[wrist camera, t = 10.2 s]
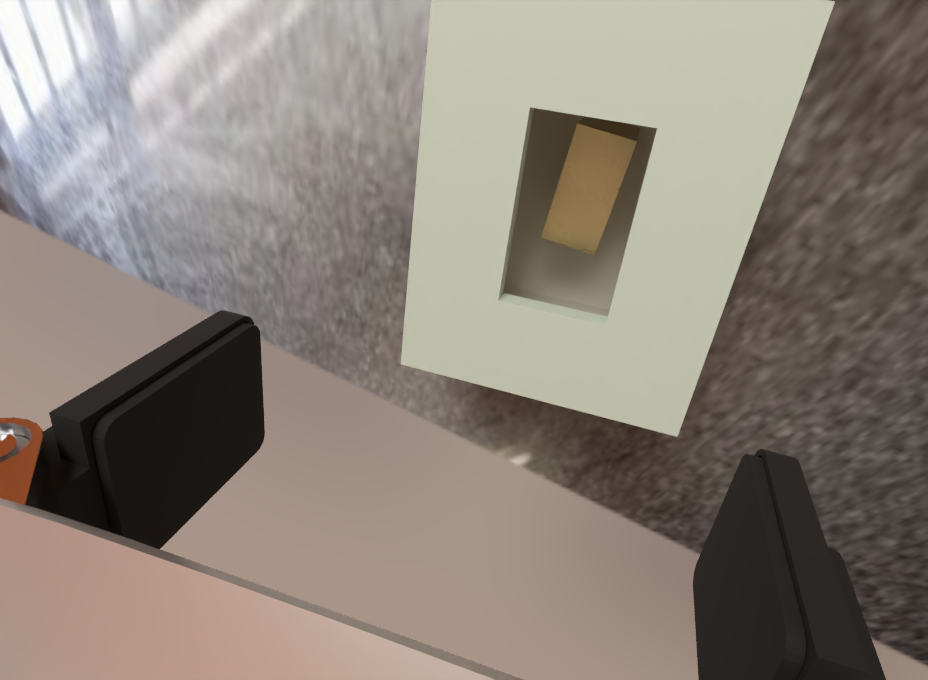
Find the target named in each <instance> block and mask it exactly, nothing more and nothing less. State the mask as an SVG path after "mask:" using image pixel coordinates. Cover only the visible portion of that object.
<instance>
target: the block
mask: <svg viewBox="0 0 928 680" xmlns="http://www.w3.org/2000/svg"><path fill="white" fill-rule="evenodd" d="M639 131H640V128H639V127H636V126H632V125H629V124H625V123H622V122H616V121H610V120H604V119H598V118H592V117H586V116H585V117H584V118H582V119H581V120H580V121H579V122H578V123H577V126H576V129H575V132H574V135H573V138H572V141H571V145H570V148H569V151H568V154H567V157H566V160H565V163H564V166H563V170H562V173H561V176H560V179H559V182H558V185H557V188H556V191H555V195H554V198H553V201H552V204H551V207H550V210H549V213H548V216H547V220H546V223H545V226H544V229H543V232H542V235H541V238H544V239H547V240H550V241H553V242H556V243H559V244H562V245H565V246H568V247H571V248H574V249H577V250H580V251H583V252H586V253H589V254H592V255H595V253H596V250H597V248H598V245H599V242H600V239H601V237H602V234H603V231H604V229H605V226H606V223H607V221H608V218H609V215H610V213H611V210H612V207H613V205H614V202H615V199H616V197H617V194H618V191H619V189H620V186H621V183H622V181H623V178H624V175H625V173H626V170H627V167H628V165H629V162H630V159H631V157H632V154H633V151H634V148H635V146H636V143H637V140H638V136H639Z"/></svg>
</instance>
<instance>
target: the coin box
mask: <svg viewBox="0 0 928 680" xmlns="http://www.w3.org/2000/svg"><path fill="white" fill-rule="evenodd" d="M834 3H835V1H827V0H431V10H430V22H429V34H428V46H427V58H426V70H425V82H424V94H423V106H422V118H421V130H420V141H419V153H418V165H417V177H416V189H415V201H414V213H413V225H412V237H411V249H410V261H409V272H408V284H407V296H406V308H405V320H404V332H403V344H402V356H401V364H402V365H406V366H409V367H413V368H417V369H421V370H425V371H428V372H432V373H436V374H440V375H444V376H448V377H451V378H455V379H459V380H463V381H467V382H470V383H474V384H478V385H482V386H486V387H489V388H493V389H497V390H501V391H505V392H508V393H512V394H516V395H520V396H524V397H528V398H531V399H535V400H539V401H543V402H547V403H550V404H554V405H558V406H562V407H566V408H569V409H573V410H577V411H581V412H585V413H588V414H592V415H596V416H600V417H604V418H607V419H611V420H615V421H619V422H623V423H627V424H630V425H634V426H638V427H642V428H646V429H649V430H653V431H657V432H661V433H665V434H668V435H672V436H676V437H677V436H678V434H679V431H680V428H681V425H682V423H683V420H684V417H685V414H686V412H687V409H688V406H689V403H690V401H691V398H692V395H693V392H694V389H695V387H696V384H697V381H698V378H699V376H700V373H701V370H702V367H703V365H704V362H705V359H706V356H707V354H708V351H709V348H710V345H711V343H712V340H713V337H714V334H715V331H716V329H717V326H718V323H719V320H720V318H721V315H722V312H723V309H724V307H725V304H726V301H727V298H728V296H729V293H730V290H731V287H732V285H733V282H734V279H735V276H736V273H737V271H738V268H739V265H740V262H741V260H742V257H743V254H744V251H745V249H746V246H747V243H748V240H749V238H750V235H751V232H752V229H753V227H754V224H755V221H756V218H757V216H758V213H759V210H760V207H761V204H762V202H763V199H764V196H765V193H766V191H767V188H768V185H769V182H770V180H771V177H772V174H773V171H774V169H775V166H776V163H777V160H778V158H779V155H780V152H781V149H782V146H783V144H784V141H785V138H786V135H787V133H788V130H789V127H790V124H791V122H792V119H793V116H794V113H795V111H796V108H797V105H798V102H799V100H800V97H801V94H802V91H803V88H804V86H805V83H806V80H807V77H808V75H809V72H810V69H811V66H812V64H813V61H814V58H815V55H816V53H817V50H818V47H819V44H820V42H821V39H822V36H823V33H824V31H825V28H826V25H827V22H828V19H829V17H830V14H831V11H832V8H833V6H834ZM585 116H586V117H592V118H598V119H604V120H610V121H616V122H622V123H625V124H629V125H632V126H636V127H639V128H640V131H639V136H638V140H637V143H636V146H635V148H634V151H633V154H632V157H631V159H630V162H629V165H628V167H627V170H626V173H625V175H624V178H623V181H622V183H621V186H620V189H619V191H618V194H617V197H616V199H615V202H614V205H613V207H612V210H611V213H610V215H609V218H608V221H607V223H606V226H605V229H604V231H603V234H602V237H601V239H600V242H599V245H598V248H597V250H596V253H595V255H592V254H589V253H586V252H583V251H580V250H577V249H574V248H571V247H568V246H565V245H562V244H559V243H556V242H553V241H550V240H547V239H544V238H541V235H542V232H543V229H544V226H545V223H546V220H547V216H548V213H549V210H550V207H551V204H552V201H553V198H554V195H555V191H556V188H557V185H558V182H559V179H560V176H561V173H562V170H563V166H564V163H565V160H566V157H567V154H568V151H569V148H570V145H571V141H572V138H573V135H574V132H575V129H576V126H577V123H578V122H579V121H580V120H581V119H582V118H584V117H585Z"/></svg>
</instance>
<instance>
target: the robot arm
mask: <svg viewBox="0 0 928 680" xmlns="http://www.w3.org/2000/svg"><path fill="white" fill-rule="evenodd" d="M49 414H50V418H51V422H52V427H50V428H49V429H47V430H46V431H44V432H43V431H42V429H41V428H40V427H39V425H38V424H37V423H34V422H32V421H30V420H27V419H21V418H14V417H13V418H0V680H523V679H520V678H517V677H515V676H512V675H509V674H506V673H504V672H501V671H498V670H495V669H492V668H490V667H487V666H484V665H482V664H479V663H476V662H473V661H471V660H468V659H465V658H462V657H460V656H456V655H454V654H451V653H449V652H446V651H443V650H440V649H437V648H434V647H432V646H429V645H427V644H424V643H421V642H418V641H416V640H413V639H410V638H407V637H404V636H402V635H399V634H396V633H393V632H391V631H388V630H385V629H382V628H379V627H376V626H374V625H371V624H368V623H365V622H363V621H360V620H357V619H354V618H352V617H349V616H346V615H343V614H340V613H338V612H335V611H332V610H329V609H326V608H324V607H321V606H318V605H315V604H312V603H310V602H307V601H304V600H301V599H298V598H296V597H293V596H290V595H287V594H284V593H282V592H279V591H276V590H273V589H270V588H268V587H265V586H262V585H259V584H256V583H254V582H250V581H248V580H245V579H242V578H239V577H237V576H234V575H231V574H228V573H225V572H222V571H219V570H217V569H214V568H211V567H208V566H205V565H202V564H200V563H197V562H194V561H191V560H188V559H185V558H182V557H180V556H177V555H174V554H171V553H168V552H165V551H162V550H160V548H161V547H162V546H163V545H164V544H165V543H166V542H167V541H168V540H169V539H170V538H171V537H172V536H173V535H174V534H175V533H176V532H177V531H178V530H179V529H180V528H181V527H182V526H183V525H184V524H185V523H186V522H187V521H188V520H189V519H190V518H191V517H192V516H193V515H194V514H195V513H196V512H197V511H198V510H199V509H200V508H201V507H202V506H203V505H204V504H205V503H206V502H207V501H208V500H209V499H210V498H211V497H212V496H213V495H214V494H215V493H216V492H217V491H218V490H219V489H220V488H221V487H222V486H223V485H224V484H225V483H226V482H227V481H228V480H229V479H230V478H231V477H232V476H233V475H234V474H235V473H236V472H237V471H238V470H239V469H240V468H241V467H242V466H243V465H244V464H245V463H246V462H247V461H248V460H249V459H250V458H251V457H252V456H253V455H254V454H255V453H256V452H257V451H258V450H259V449H260V447H261V445H262V442H263V440H264V434H265V431H264V408H263V387H262V365H261V343H260V331H259V329H258V327H257V326H254V322H253V320H252V319H251V318H250V317H248V316H244V315H240V314H236V313H232V312H228V311H223V310H222V311H219V312H217V313H215V314H214V315H212V316H210V317H209V318H207V319H205V320H204V321H202V322H200V323H199V324H197V325H195V326H193V327H192V328H190V329H189V330H187V331H185V332H183V333H182V334H180V335H178V336H177V337H175V338H174V339H172V340H170V341H168V342H167V343H165V344H163V345H162V346H160V347H158V348H157V349H155V350H153V351H152V352H150V353H148V354H147V355H145V356H144V357H142V358H140V359H138V360H137V361H135V362H133V363H132V364H130V365H128V366H127V367H125V368H123V369H122V370H120V371H118V372H117V373H115V374H113V375H111V376H110V377H108V378H106V379H105V380H103V381H101V382H100V383H98V384H97V385H95V386H93V387H92V388H90V389H88V390H86V391H85V392H83V393H81V394H80V395H78V396H76V397H75V398H73V399H71V400H70V401H68V402H66V403H65V404H63V405H61V406H60V407H58V408H57V409H55V410H53V411H51V412H50V413H49ZM693 591H694V608H695V623H696V624H695V625H696V641H697V657H698V675H699V680H886V678H885V676H884V673H883V670H882V667H881V664H880V662H879V659H878V656H877V653H876V650H875V647H874V645H873V642H872V639H871V636H870V633H869V631H868V628H867V625H866V622H865V619H864V617H863V614H862V611H861V608H860V605H859V603H858V600H857V597H856V594H855V591H854V589H853V586H852V583H851V580H850V577H849V574H848V572H847V569H846V566H845V563H844V561H843V559H842V557H841V555H840V553H838V552H837V551H836V550H835V549H832V548H828V547H827V544H826V541H825V538H824V535H823V532H822V529H821V526H820V523H819V520H818V517H817V514H816V511H815V508H814V505H813V502H812V499H811V496H810V493H809V490H808V487H807V484H806V481H805V478H804V475H803V472H802V469H801V466H800V463H799V461H798V459H796V458H794V457H790V456H786V455H782V454H779V453H775V452H771V451H767V450H763V449H760V450H758V451H757V453H756V454H755V456H753V455H749V454H745V455H744V456H743V457H742V459H741V461H740V464H739V466H738V468H737V471H736V473H735V475H734V478H733V480H732V482H731V485H730V487H729V489H728V492H727V494H726V496H725V499H724V501H723V503H722V506H721V508H720V510H719V513H718V515H717V517H716V520H715V522H714V524H713V527H712V529H711V531H710V534H709V536H708V538H707V541H706V543H705V545H704V548H703V550H702V552H701V555H700V557H699V559H698V561H697V564H696V568H695V571H694V578H693Z"/></svg>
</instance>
